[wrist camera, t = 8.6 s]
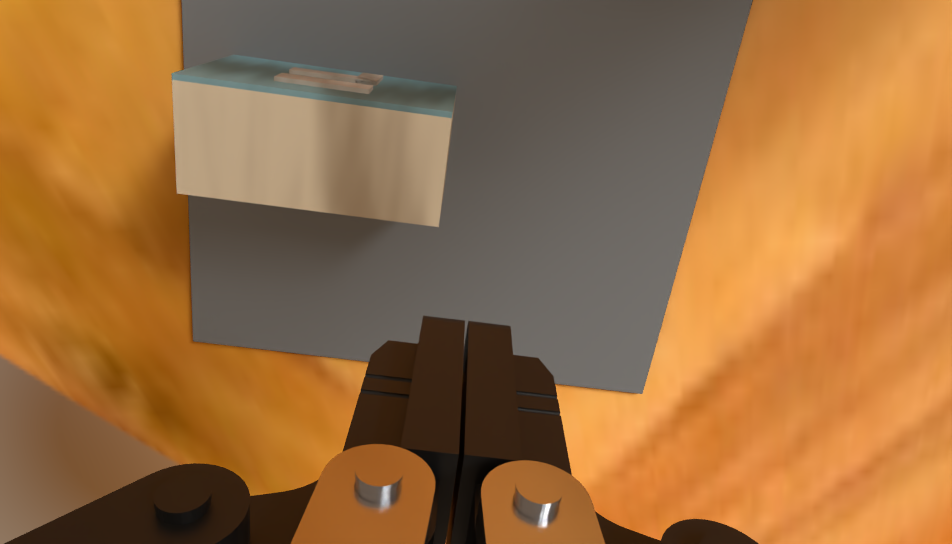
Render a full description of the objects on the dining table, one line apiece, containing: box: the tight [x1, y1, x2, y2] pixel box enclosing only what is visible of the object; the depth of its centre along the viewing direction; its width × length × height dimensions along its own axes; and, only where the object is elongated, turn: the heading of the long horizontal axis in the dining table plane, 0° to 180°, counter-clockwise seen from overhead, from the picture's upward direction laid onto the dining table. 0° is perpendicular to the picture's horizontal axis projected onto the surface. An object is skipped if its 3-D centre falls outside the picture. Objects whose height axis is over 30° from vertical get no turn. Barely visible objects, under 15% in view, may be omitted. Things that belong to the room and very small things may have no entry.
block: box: [172, 55, 457, 227], centre depth 25 cm, size 6×4×9 cm
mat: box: [182, 0, 753, 394], centre depth 29 cm, size 22×19×1 cm
